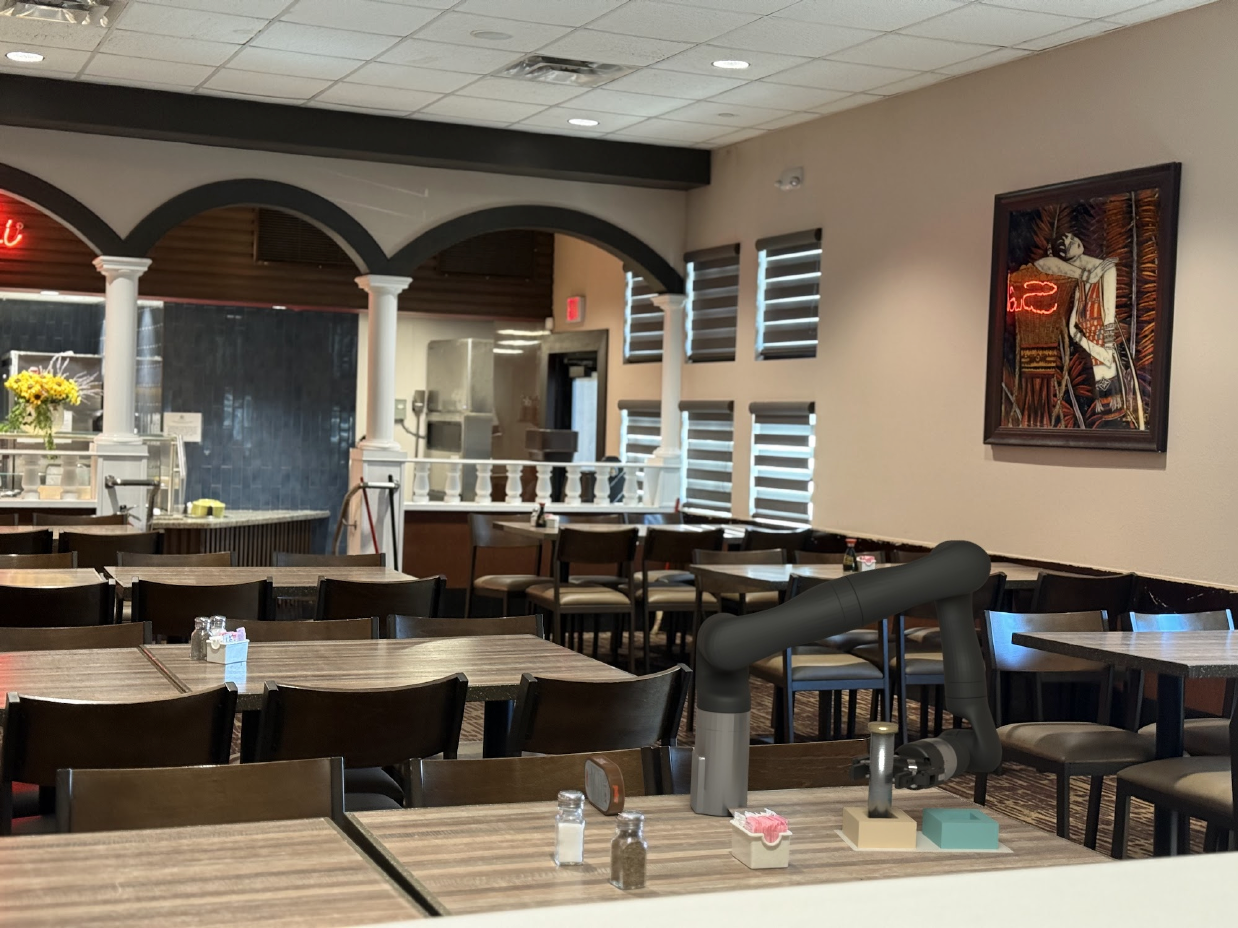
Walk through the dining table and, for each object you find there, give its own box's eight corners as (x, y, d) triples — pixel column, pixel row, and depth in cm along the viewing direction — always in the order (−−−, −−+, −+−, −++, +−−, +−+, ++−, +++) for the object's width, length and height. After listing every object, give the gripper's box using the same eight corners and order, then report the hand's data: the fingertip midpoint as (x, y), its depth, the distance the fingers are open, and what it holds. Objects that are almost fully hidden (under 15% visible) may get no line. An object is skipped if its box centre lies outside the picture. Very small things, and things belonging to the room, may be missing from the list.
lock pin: (868, 843, 222) (873, 726, 221) (859, 836, 226) (864, 721, 226) (897, 844, 222) (902, 727, 222) (888, 836, 227) (893, 721, 227)
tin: (625, 819, 237) (627, 768, 237) (607, 820, 236) (609, 768, 236) (597, 798, 251) (599, 749, 251) (580, 798, 250) (582, 750, 250)
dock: (853, 860, 217) (855, 823, 217) (833, 839, 229) (834, 804, 229) (1013, 861, 220) (1015, 825, 220) (985, 840, 232) (986, 806, 232)
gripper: (886, 733, 240) (834, 746, 227) (966, 747, 231) (917, 761, 218) (884, 778, 240) (832, 793, 227) (964, 794, 231) (915, 810, 218)
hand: (874, 777), depth 222 cm, fingers open, 7 cm apart
